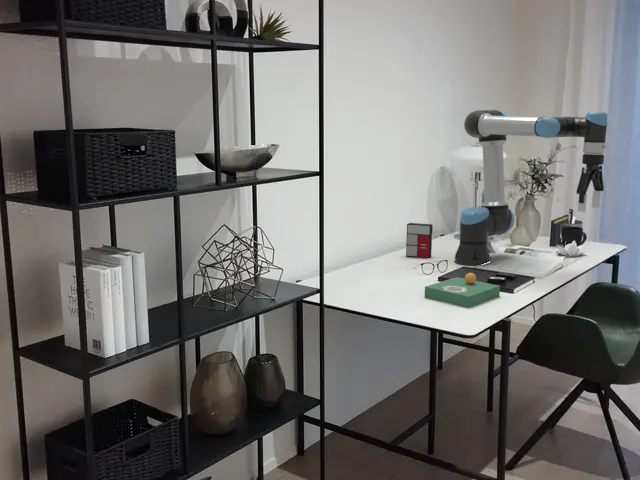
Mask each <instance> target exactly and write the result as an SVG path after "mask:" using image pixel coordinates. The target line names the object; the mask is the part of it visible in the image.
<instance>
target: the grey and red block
mask: <svg viewBox="0 0 640 480" xmlns="http://www.w3.org/2000/svg"><path fill="white" fill-rule="evenodd" d="M432 241H433V224H432V223H418V222H408V223H407V224H406V242H405V244H406V247H405V248H406V250H405V256H406V257H408V258H409V257H410V258H420V259H421V258H422V259H430V258H432V250H433V249H432V245H433V242H432Z"/></svg>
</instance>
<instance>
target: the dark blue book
mask: <svg viewBox="0 0 640 480" xmlns="http://www.w3.org/2000/svg"><path fill="white" fill-rule="evenodd" d="M568 219H569V214H564V215H562V216H560V217H556V218H555V219H553V220H550V231H549V244H548V245H549V247H550V248H551V247H552V248H553V247H556V246H557V245H558V246H560V245H561V244H562V243H561V238H560V224H561V223H562V221H568ZM558 246H557V247H558Z"/></svg>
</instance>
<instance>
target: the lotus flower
mask: <svg viewBox="0 0 640 480" xmlns="http://www.w3.org/2000/svg"><path fill="white" fill-rule="evenodd" d="M566 243H567V241H565V242H564V244H565V246H564V247H562V246H560V245H557V247H555V253H556V254H557V255H558V254H561V255H560V256H563V255H565V256H564V257H568V258H569V257H579V256H581V255H583V254H584V253H586V251H584V252H582V251H583V249H584V248H583V245H582V244H581V245H578V246H577V244H578V243H577V242H576V240H573V241H572V242H571V243H568V244H566ZM568 255H569V256H568Z"/></svg>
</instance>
